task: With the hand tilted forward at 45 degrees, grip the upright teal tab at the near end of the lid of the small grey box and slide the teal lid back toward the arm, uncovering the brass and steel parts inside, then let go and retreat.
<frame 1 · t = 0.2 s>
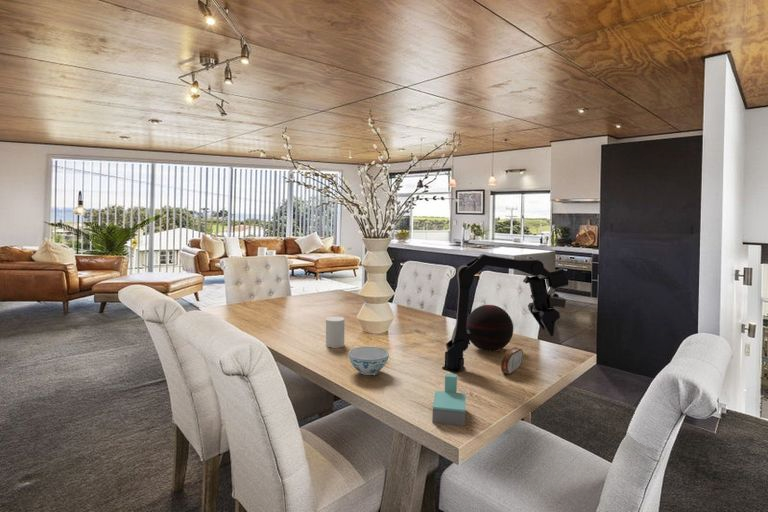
hand: (547, 332, 161), 15 cm above the table, tool pointing down, fingers open, 9 cm apart
chinaware: (368, 373, 160), on the table
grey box: (449, 417, 125), on the table
tin: (511, 371, 164), on the table
steel part: (442, 418, 124), resting on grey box
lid: (449, 397, 126), point 5 cm above the table, slide at 0.0 cm
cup: (335, 345, 192), on the table
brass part: (454, 419, 123), resting on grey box
decorative orb: (488, 350, 188), on the table
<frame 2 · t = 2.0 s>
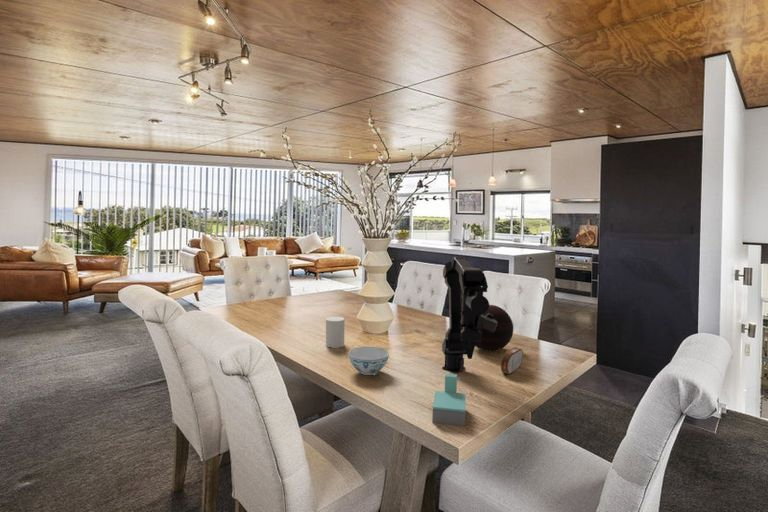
hand: (469, 354, 142), 13 cm above the table, tool pointing down, fingers open, 9 cm apart
nothing on the table moved.
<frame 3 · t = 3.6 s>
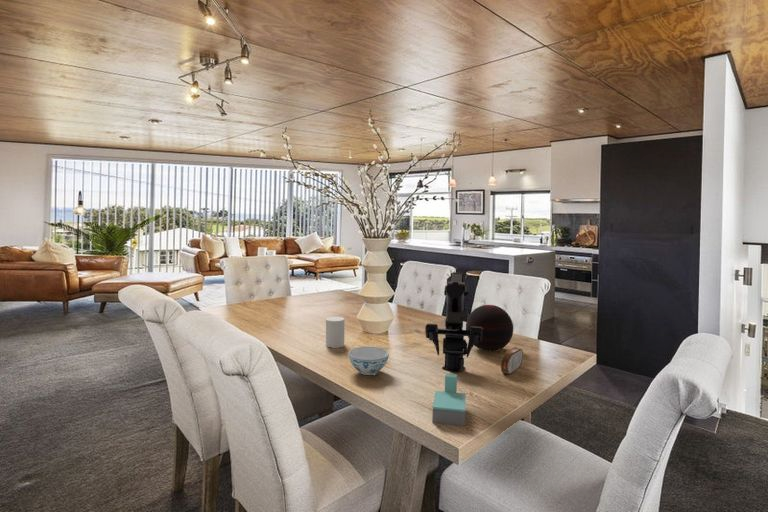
hand: (452, 356, 139), 13 cm above the table, tool tilted 45°, fingers open, 9 cm apart
nothing on the table moved.
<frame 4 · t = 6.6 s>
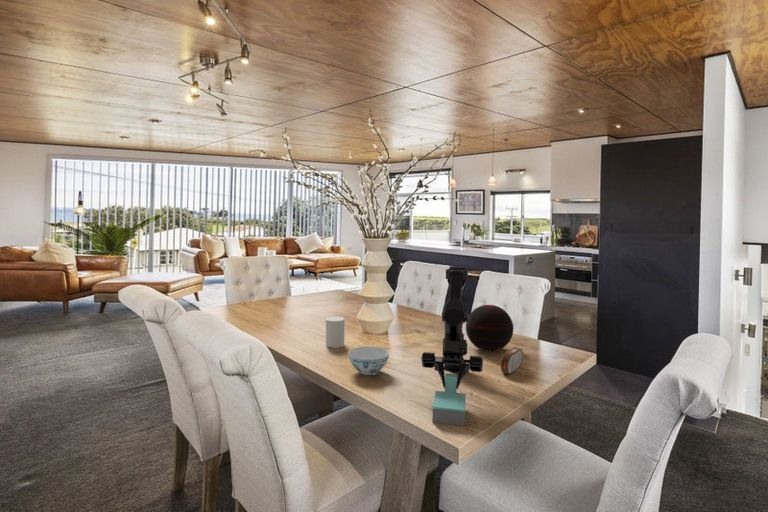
hand: (450, 387, 130), 7 cm above the table, tool tilted 45°, fingers closed on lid, 3 cm apart
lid: (449, 397, 126), point 5 cm above the table, slide at 0.0 cm, touching gripper
everything else where it was.
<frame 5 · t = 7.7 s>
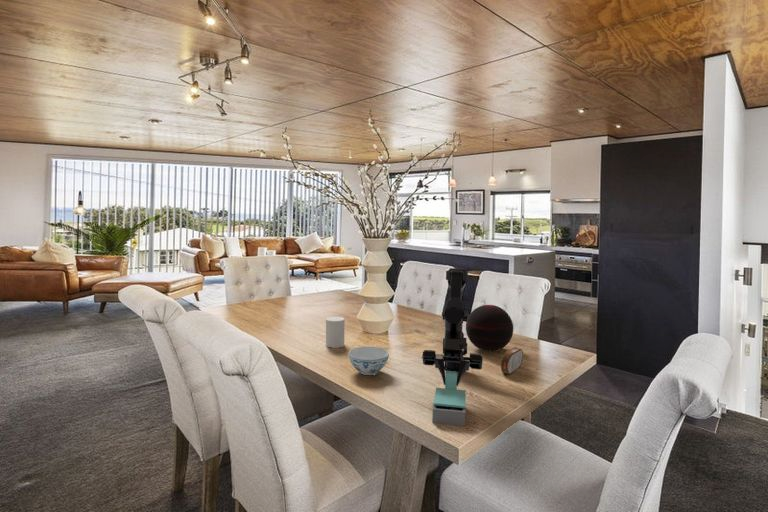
hand: (450, 384, 133), 7 cm above the table, tool tilted 45°, fingers closed on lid, 3 cm apart
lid: (450, 394, 129), point 5 cm above the table, slide at 2.4 cm, touching gripper
everything else where it was.
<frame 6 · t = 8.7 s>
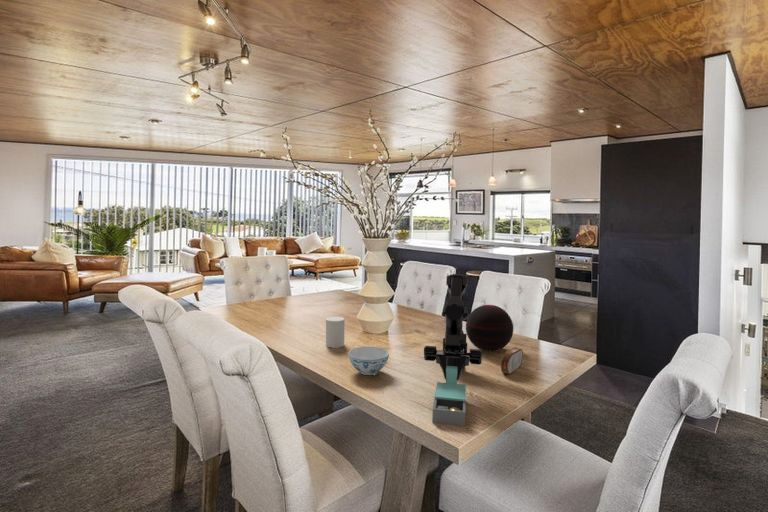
hand: (451, 379, 137), 7 cm above the table, tool tilted 45°, fingers closed on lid, 3 cm apart
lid: (450, 388, 133), point 5 cm above the table, slide at 6.9 cm, touching gripper
everything else where it was.
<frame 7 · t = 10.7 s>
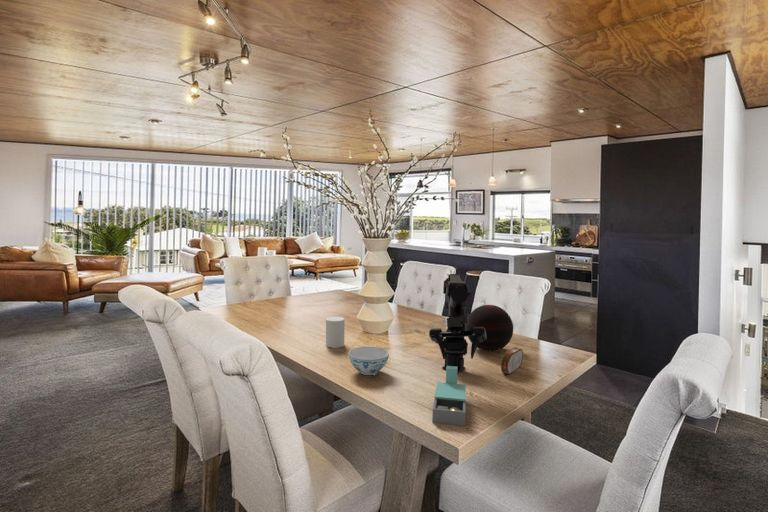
hand: (457, 358, 143), 11 cm above the table, tool tilted 35°, fingers open, 9 cm apart
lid: (450, 388, 133), point 5 cm above the table, slide at 7.0 cm
everything else where it was.
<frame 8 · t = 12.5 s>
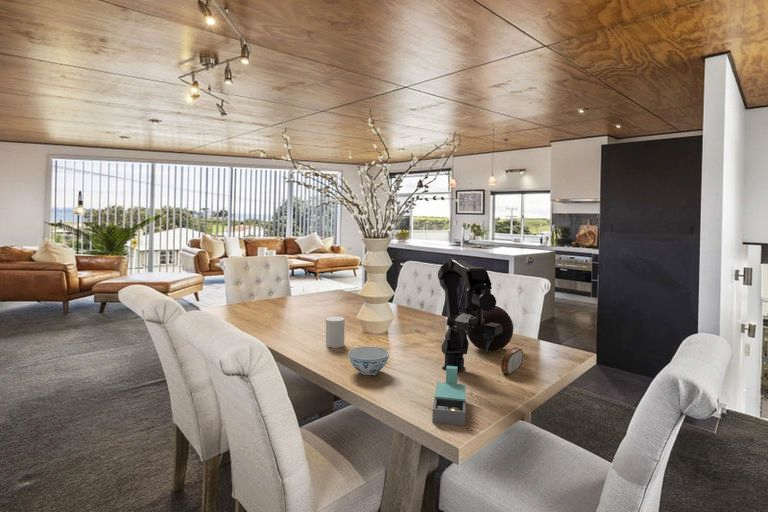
hand: (472, 349, 147), 13 cm above the table, tool pointing down, fingers open, 9 cm apart
nothing on the table moved.
at the end: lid slide at 7.0 cm; the gripper is holding nothing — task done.
